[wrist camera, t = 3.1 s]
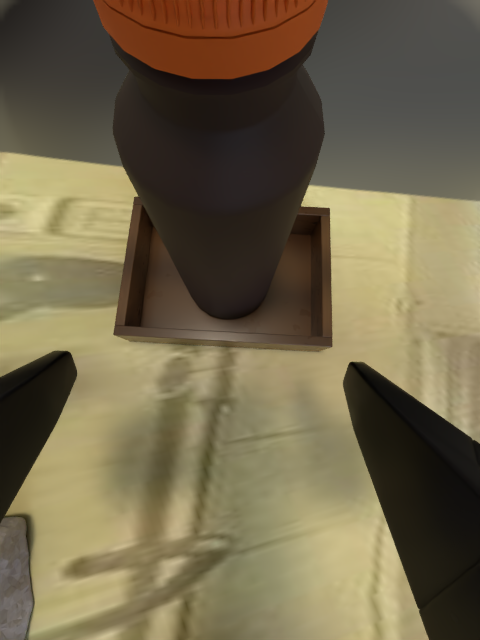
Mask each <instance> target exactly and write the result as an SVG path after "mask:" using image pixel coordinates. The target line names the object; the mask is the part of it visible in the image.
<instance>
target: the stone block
mask: <svg viewBox="0 0 480 640" xmlns="http://www.w3.org/2000/svg"><path fill="white" fill-rule="evenodd" d="M26 531H27V527H26V521H25V519H24V518H22V517H5V518H3V520H2V521H1V523H0V640H25V635H26V631H27V627H28V622H29V618H30V615H31V611H32V608H33V595H32V591H31V583H30V576H29V562H28V560H29V551H28V547H27V539H26Z"/></svg>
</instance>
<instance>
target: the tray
mask: <svg viewBox="0 0 480 640" xmlns="http://www.w3.org/2000/svg"><path fill="white" fill-rule="evenodd" d="M113 335H115V336H118V337H120V338H123V339H126V340H128V341H134V342H153V343H171V344H189V345H208V346H226V347H244V348H263V349H281V350H299V351H317V352H319V351H321V350H324V349H327V348H331V347H332V299H331V247H330V208H318V207H301V206H300V209H299V211H298V214H297V216H296V219H295V222H294V224H293V227H292V229H291V232H290V235H289V237H288V240H287V243H286V245H285V248H284V250H283V253H282V256H281V258H280V261H279V263H278V266H277V269H276V271H275V274H274V277H273V279H272V282H271V284H270V287H269V290H268V292H267V295H266V297H265V299H264V300H263V301H262V303H261V304H260V306H259V307H258V308H257V309H255V310H254V311H253V312H251V313H250V314H248V315H246V316H243V317H240V318H237V319H221V318H217V317H214V316H211V315H209V314H207V313H206V312H205V311H203V310H202V309H200V308H199V307H198V305H197V304H196V303H195V301H194V300H193V299H192V297H191V295H190V293H189V291H188V289H187V288H186V286H185V284H184V282H183V280H182V278H181V276H180V274H179V272H178V270H177V268H176V266H175V265H174V263H173V261H172V259H171V257H170V255H169V253H168V251H167V249H166V247H165V245H164V244H163V242H162V240H161V238H160V236H159V234H158V232H157V230H156V228H155V226H154V224H153V222H152V221H151V219H150V217H149V215H148V213H147V211H146V209H145V207H144V205H143V203H142V201H141V200H140V198H139V197H134V202H133V210H132V216H131V223H130V229H129V236H128V242H127V249H126V256H125V262H124V269H123V275H122V282H121V288H120V295H119V301H118V308H117V315H116V321H115V327H114V334H113Z"/></svg>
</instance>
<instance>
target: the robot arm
mask: <svg viewBox="0 0 480 640" xmlns="http://www.w3.org/2000/svg"><path fill="white" fill-rule="evenodd" d="M76 377H77V369H76V366H75V363H74V360H73V358H72V355H71V353H70V352H68V351H53V352H51V353H49V354H47V355H45V356H43V357H41V358H39V359H37V360H35V361H33V362H31V363H28V364H26V365H24V366H22V367H20V368H18V369H16V370H14V371H12V372H10V373H8V374H6V375H4V376H2V377H0V523H1V521H2V520H3V518H4V516H5V514H6V512H7V511H8V509H9V507H10V505H11V504H12V502H13V500H14V498H15V496H16V495H17V493H18V491H19V489H20V488H21V486H22V484H23V482H24V480H25V479H26V477H27V475H28V473H29V472H30V470H31V468H32V466H33V464H34V463H35V461H36V459H37V457H38V456H39V454H40V452H41V450H42V448H43V447H44V445H45V443H46V441H47V439H48V438H49V436H50V434H51V432H52V431H53V429H54V427H55V425H56V423H57V421H58V419H59V417H60V415H61V413H62V410H63V408H64V406H65V403H66V401H67V399H68V396H69V394H70V392H71V389H72V387H73V385H74V382H75V380H76ZM343 388H344V392H345V396H346V400H347V405H348V409H349V413H350V417H351V421H352V425H353V429H354V432H355V435H356V438H357V441H358V444H359V446H360V449H361V452H362V455H363V457H364V460H365V463H366V466H367V468H368V471H369V474H370V477H371V480H372V482H373V485H374V488H375V491H376V493H377V496H378V499H379V502H380V504H381V507H382V510H383V513H384V516H385V518H386V521H387V524H388V527H389V529H390V532H391V535H392V538H393V540H394V543H395V546H396V549H397V552H398V554H399V557H400V560H401V563H402V565H403V568H404V571H405V574H406V576H407V579H408V582H409V585H410V588H411V590H412V593H413V596H414V599H415V601H416V604H417V607H418V609H420V610H419V613H420V616H421V619H422V621H423V624H424V627H425V630H426V632H427V635H428V638H429V640H480V444H479V443H478V442H477V441H475V440H472V438H471V437H469V436H468V435H466V434H465V433H464V432H462V431H461V430H459V429H458V428H456V427H455V426H454V425H452V424H451V423H449V422H448V421H446V420H445V419H444V418H442V417H441V416H439V415H438V414H437V413H435V412H434V411H432V410H431V409H429V408H428V407H427V406H425V405H424V404H422V403H421V402H419V401H418V400H417V399H415V398H414V397H412V396H411V395H409V394H408V393H407V392H405V391H404V390H402V389H401V388H399V387H398V386H397V385H395V384H394V383H392V382H391V381H390V380H388V379H387V378H385V377H384V376H382V375H381V374H380V373H378V372H377V371H375V370H374V369H372V368H371V367H370V366H368V365H367V364H365V363H363V362H350V363H349V365H348V368H347V371H346V374H345V377H344V380H343Z"/></svg>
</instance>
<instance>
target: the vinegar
mask: <svg viewBox="0 0 480 640" xmlns="http://www.w3.org/2000/svg"><path fill="white" fill-rule="evenodd" d="M94 3H95V6H96V9H97V11H98V14H99V16H100V19H101V22H102V25H103V27H104V28H105V29H106V30H107V32H108V33H109V35H110V38H111V41H112V44H113V47H114V50H115V52H116V54H117V56H118V57H119V58H120V59H121V60H122V61H123V63H124V64H125V65H126V66H127V67H128V68H129V72H128V74H127V76H126V78H125V80H124V82H123V84H122V86H121V88H120V90H119V92H118V94H117V96H116V100H115V109H114V120H113V135H114V138H115V142H116V145H117V148H118V152H119V155H120V158H121V161H122V164H123V167H124V169H125V171H126V173H127V175H128V177H129V179H130V180H131V182H132V184H133V186H134V188H135V190H136V192H137V194H138V196H139V198H140V200H141V201H142V203H143V205H144V207H145V209H146V211H147V213H148V215H149V217H150V219H151V221H152V222H153V224H154V226H155V228H156V230H157V232H158V234H159V236H160V238H161V240H162V242H163V244H164V245H165V247H166V249H167V251H168V253H169V255H170V257H171V259H172V261H173V263H174V265H175V266H176V268H177V270H178V272H179V274H180V276H181V278H182V280H183V282H184V284H185V286H186V288H187V289H188V291H189V293H190V295H191V297H192V299H193V300H194V301H195V303H196V304H197V305H198V307H199V308H200V309H202V310H203V311H205V312H206V313H207V314H209V315H211V316H214V317H217V318H221V319H237V318H240V317H243V316H246V315H248V314H250V313H251V312H253V311H254V310H255V309H257V308H258V307H259V306H260V304H261V303H262V301H263V300H264V299H265V297H266V295H267V292H268V290H269V287H270V284H271V282H272V279H273V277H274V274H275V271H276V269H277V266H278V263H279V261H280V258H281V256H282V253H283V250H284V248H285V245H286V243H287V240H288V237H289V235H290V232H291V229H292V227H293V224H294V222H295V219H296V216H297V214H298V211H299V209H300V206H301V203H302V201H303V198H304V195H305V193H306V190H307V188H308V185H309V182H310V180H311V177H312V174H313V172H314V169H315V167H316V163H317V160H318V156H319V153H320V149H321V146H322V142H323V138H324V134H325V133H324V121H323V112H322V103H321V99H320V97H319V94H318V92H317V91H316V88H315V86H314V84H313V82H312V80H311V78H310V76H309V74H308V73H307V71H306V69H305V68H304V66H303V65H302V64H303V63H304V62H305V61H306V59H307V58H308V57H309V56H310V55H311V52H312V49H313V46H314V42H315V39H316V36H317V33H318V30H319V28H320V25H321V22H322V18H323V15H324V12H325V9H326V6H327V3H328V0H94Z"/></svg>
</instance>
